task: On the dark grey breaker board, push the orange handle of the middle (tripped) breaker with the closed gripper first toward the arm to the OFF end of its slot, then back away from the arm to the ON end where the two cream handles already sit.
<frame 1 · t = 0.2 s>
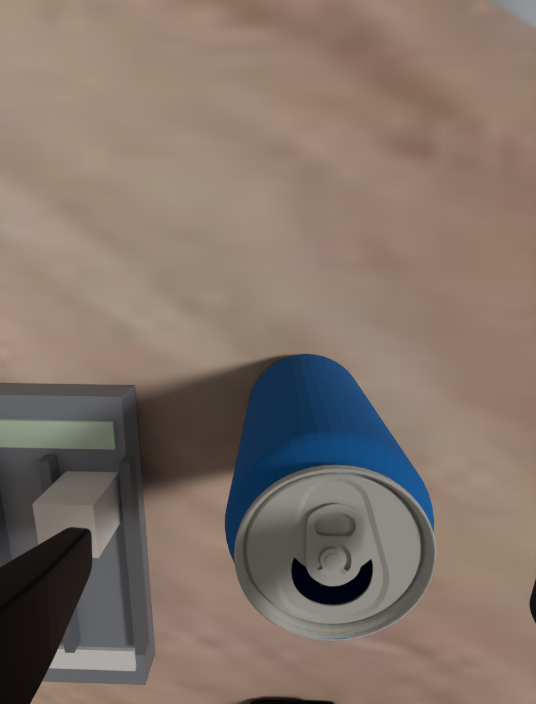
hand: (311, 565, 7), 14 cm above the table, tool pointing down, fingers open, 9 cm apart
beverage can: (304, 402, 22), on the table
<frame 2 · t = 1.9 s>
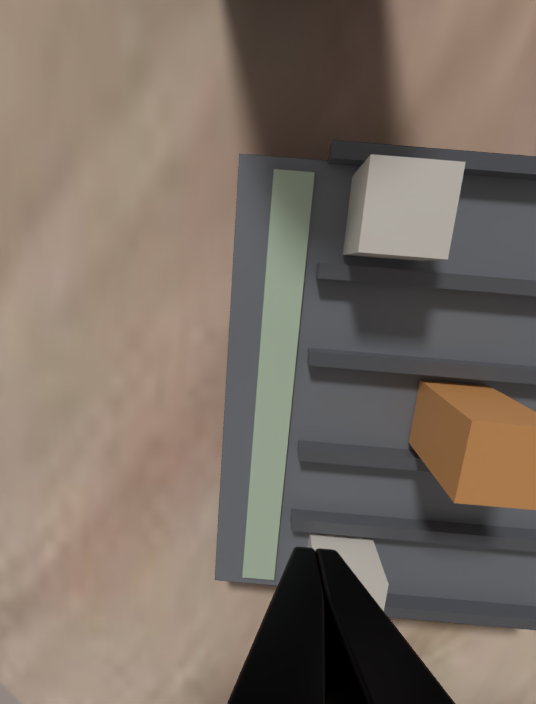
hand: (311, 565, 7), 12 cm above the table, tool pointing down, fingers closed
breaker board: (428, 398, 19), on the table
tripped handle: (473, 436, 15), point 4 cm above the table, slide at 0.0 cm
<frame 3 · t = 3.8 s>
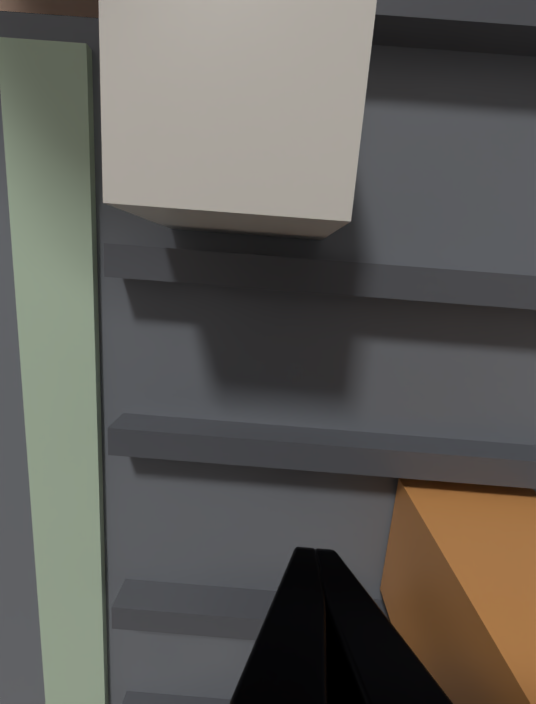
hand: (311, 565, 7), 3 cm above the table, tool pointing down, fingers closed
breaker board: (375, 485, 11), on the table
tripped handle: (512, 632, 7), point 4 cm above the table, slide at -1.3 cm, touching gripper
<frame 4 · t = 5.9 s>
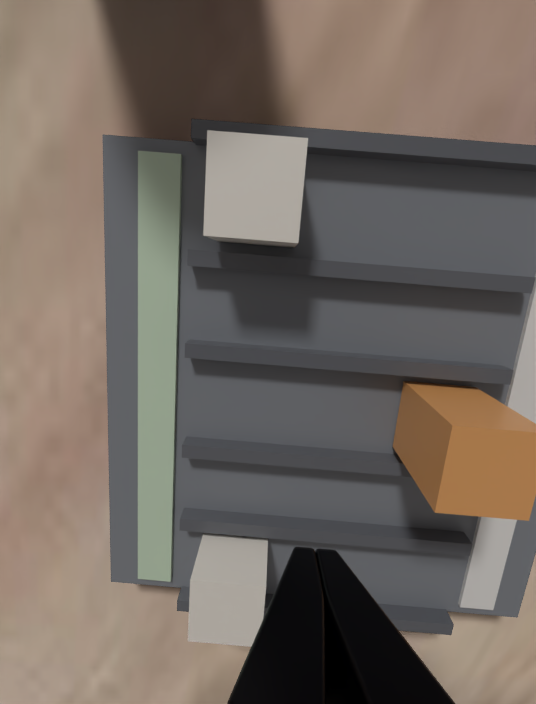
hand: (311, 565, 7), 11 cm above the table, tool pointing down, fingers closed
breaker board: (331, 393, 18), on the table
tripped handle: (457, 441, 14), point 4 cm above the table, slide at -4.1 cm
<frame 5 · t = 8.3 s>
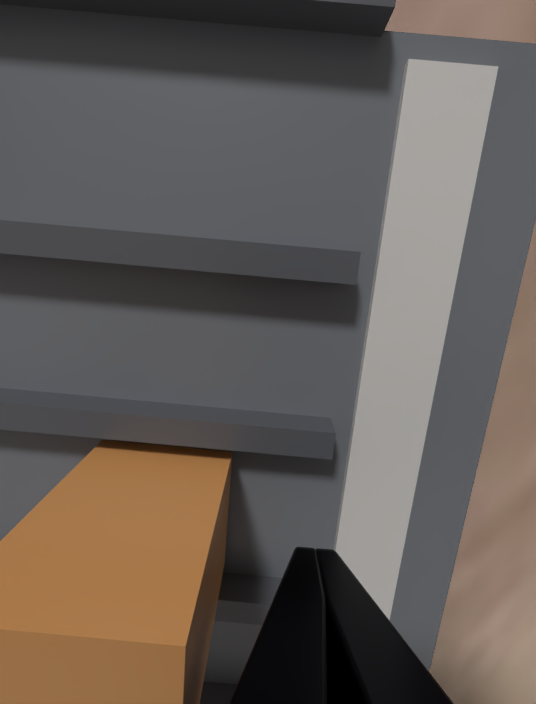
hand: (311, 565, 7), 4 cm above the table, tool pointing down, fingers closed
breaker board: (89, 450, 11), on the table
tripped handle: (129, 580, 7), point 4 cm above the table, slide at -2.8 cm, touching gripper
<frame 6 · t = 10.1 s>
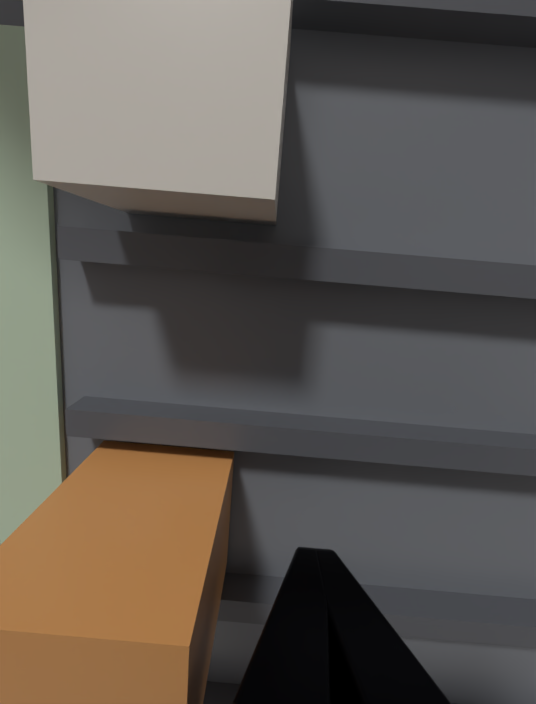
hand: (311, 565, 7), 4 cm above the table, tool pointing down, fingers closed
breaker board: (342, 472, 11), on the table
tripped handle: (132, 581, 7), point 4 cm above the table, slide at 4.5 cm, touching gripper
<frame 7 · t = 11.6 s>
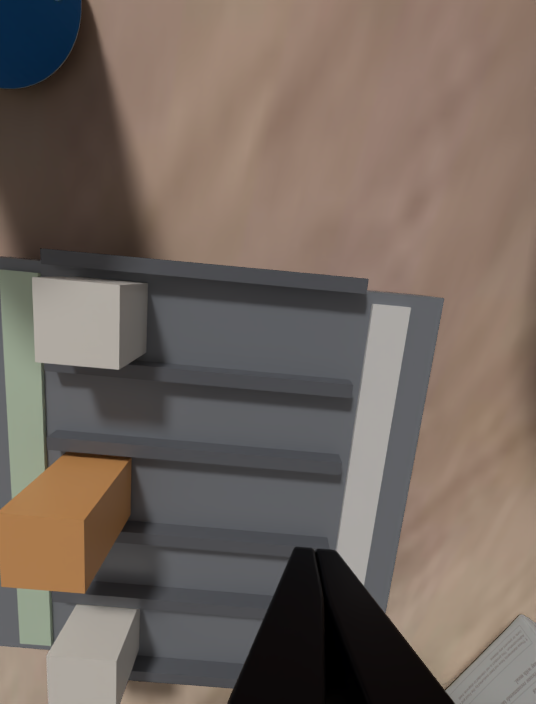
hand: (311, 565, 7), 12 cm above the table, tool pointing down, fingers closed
supplement box: (522, 675, 23), on the table
breaker board: (203, 469, 20), on the table
tripped handle: (74, 513, 15), point 4 cm above the table, slide at 4.5 cm
beverage can: (16, 13, 16), on the table
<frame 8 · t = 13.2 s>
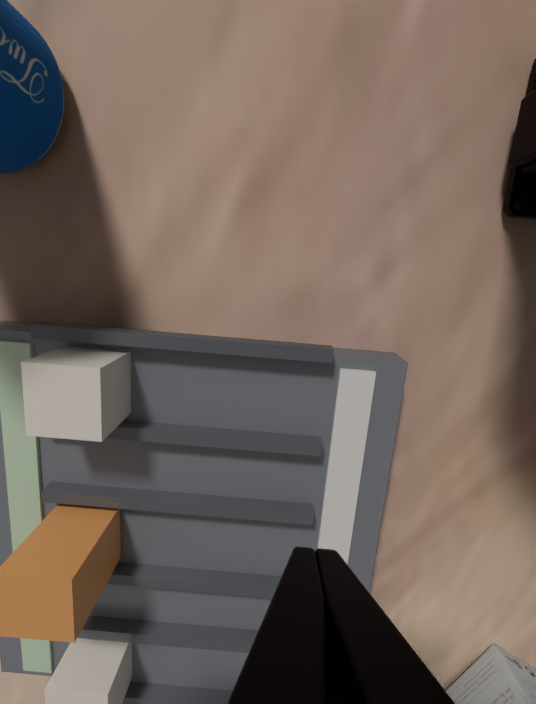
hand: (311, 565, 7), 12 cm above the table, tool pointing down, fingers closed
supplement box: (496, 700, 24), on the table
breaker board: (189, 510, 21), on the table
tripped handle: (66, 564, 17), point 4 cm above the table, slide at 4.5 cm
beverage can: (5, 101, 17), on the table
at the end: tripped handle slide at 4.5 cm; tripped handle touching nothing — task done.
